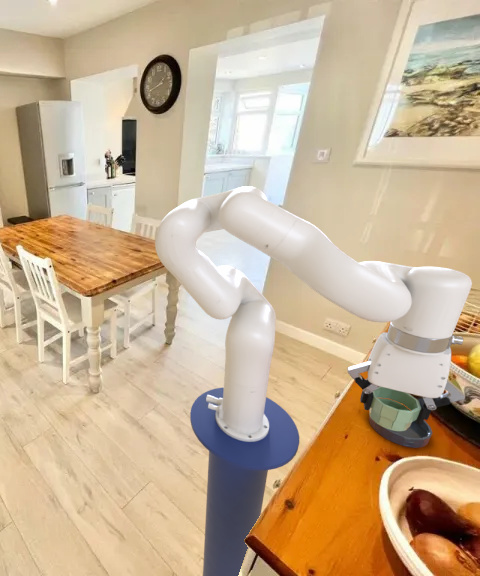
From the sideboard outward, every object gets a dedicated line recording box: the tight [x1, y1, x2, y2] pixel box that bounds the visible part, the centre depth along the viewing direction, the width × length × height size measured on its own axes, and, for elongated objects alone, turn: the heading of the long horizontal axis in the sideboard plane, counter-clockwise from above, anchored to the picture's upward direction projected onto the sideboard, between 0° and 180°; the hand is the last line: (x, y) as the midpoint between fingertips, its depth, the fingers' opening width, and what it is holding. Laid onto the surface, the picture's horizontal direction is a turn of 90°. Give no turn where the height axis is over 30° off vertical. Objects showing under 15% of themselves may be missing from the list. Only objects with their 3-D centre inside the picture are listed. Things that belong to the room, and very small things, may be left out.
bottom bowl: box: [368, 415, 433, 449], centre depth 70 cm, size 10×10×2 cm
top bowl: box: [368, 386, 421, 431], centre depth 60 cm, size 7×7×6 cm
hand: (390, 411), depth 60 cm, fingers closed on top bowl, 6 cm apart
